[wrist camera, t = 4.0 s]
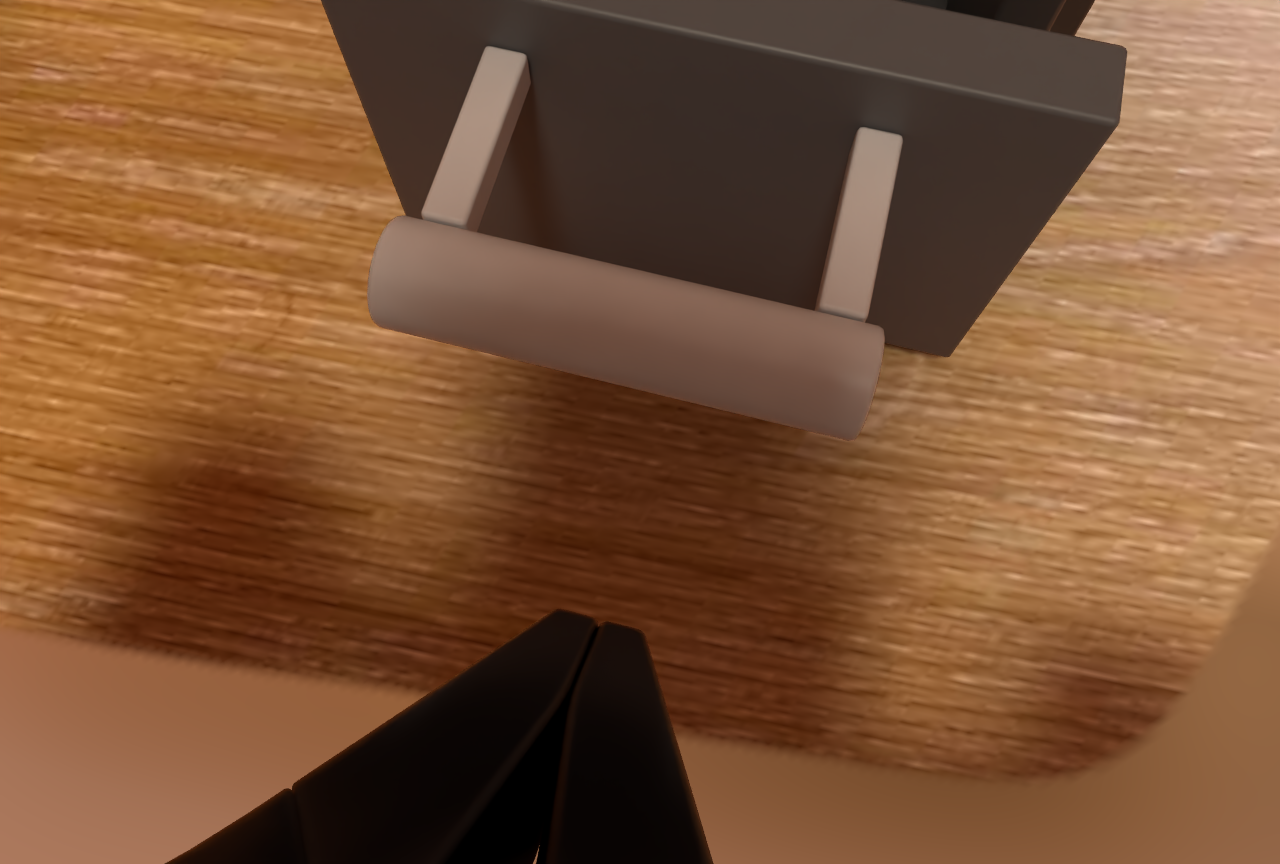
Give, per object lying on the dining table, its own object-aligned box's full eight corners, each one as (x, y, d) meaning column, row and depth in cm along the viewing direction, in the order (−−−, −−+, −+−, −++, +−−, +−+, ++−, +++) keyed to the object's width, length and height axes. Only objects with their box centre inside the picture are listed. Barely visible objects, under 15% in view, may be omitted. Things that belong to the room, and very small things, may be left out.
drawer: (913, 578, 16) (1086, 446, 10) (333, 432, 17) (162, 226, 11) (1026, -103, 22) (1188, -470, 15) (575, -191, 22) (553, -574, 16)
